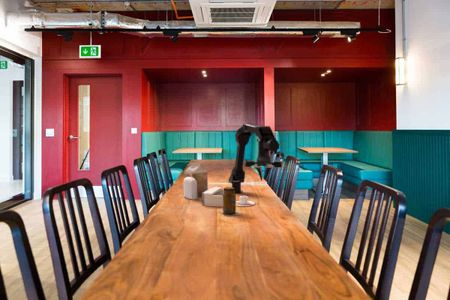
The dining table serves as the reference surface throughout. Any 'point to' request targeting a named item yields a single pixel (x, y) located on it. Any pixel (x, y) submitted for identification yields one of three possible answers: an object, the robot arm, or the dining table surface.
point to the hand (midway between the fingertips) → (263, 180)
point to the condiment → (229, 202)
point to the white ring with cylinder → (244, 201)
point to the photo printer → (190, 188)
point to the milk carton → (198, 177)
